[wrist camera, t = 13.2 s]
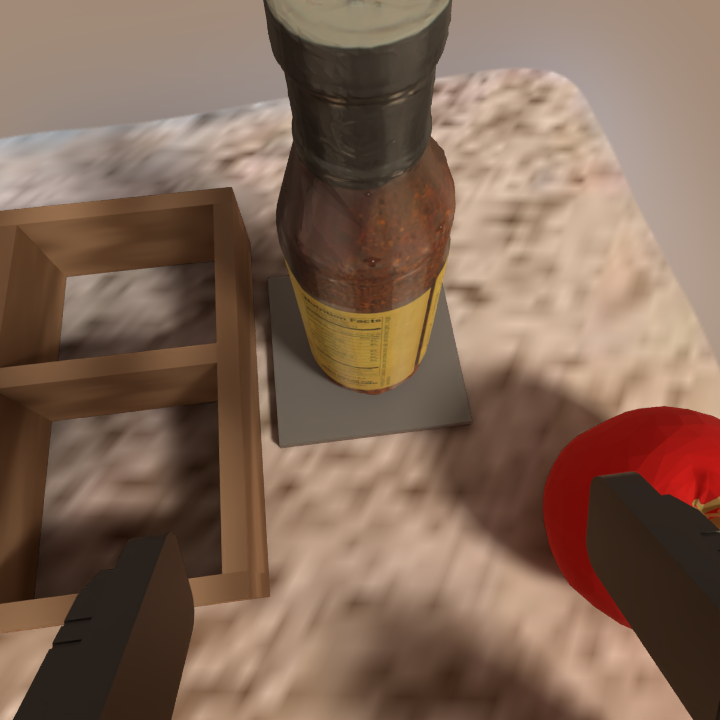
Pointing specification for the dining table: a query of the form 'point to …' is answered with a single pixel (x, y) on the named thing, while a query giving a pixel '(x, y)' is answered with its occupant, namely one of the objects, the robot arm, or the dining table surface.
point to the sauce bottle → (364, 181)
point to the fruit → (625, 454)
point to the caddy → (124, 374)
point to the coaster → (351, 409)
